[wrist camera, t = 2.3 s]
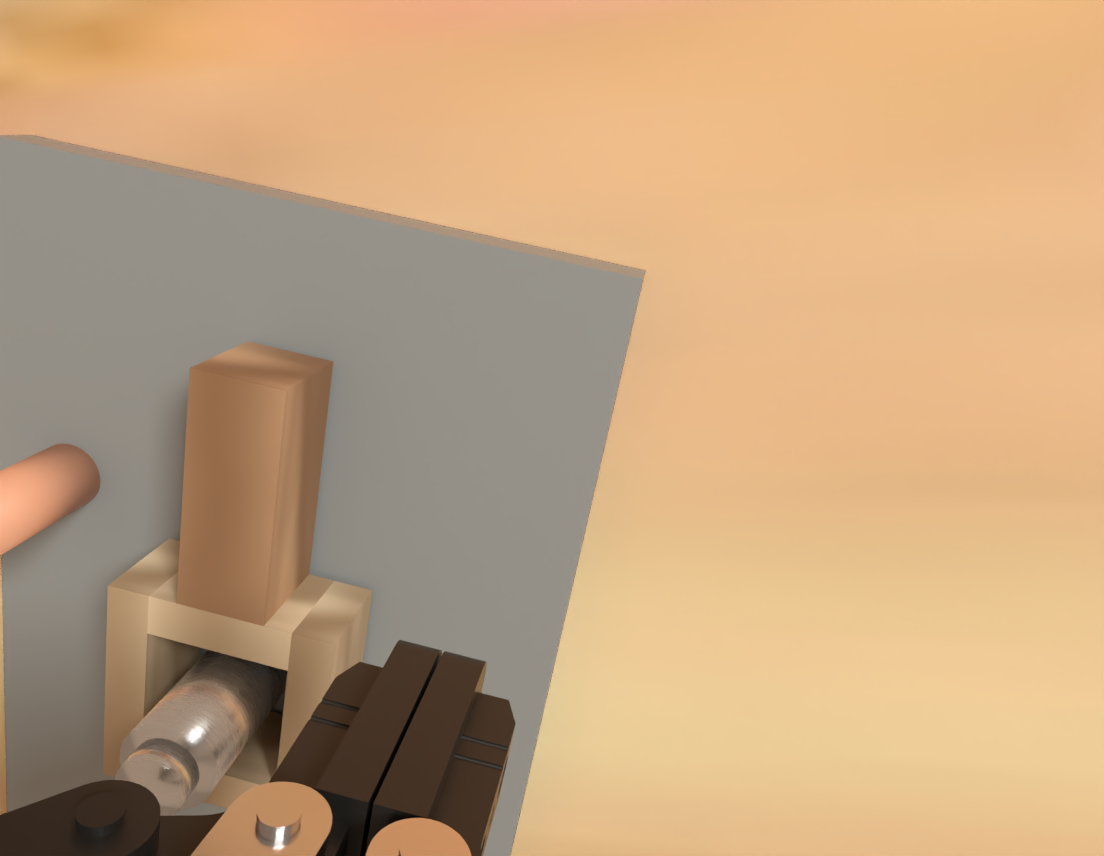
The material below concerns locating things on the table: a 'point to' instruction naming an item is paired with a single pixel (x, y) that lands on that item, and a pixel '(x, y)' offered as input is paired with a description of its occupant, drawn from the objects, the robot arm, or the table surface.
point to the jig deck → (351, 429)
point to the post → (199, 729)
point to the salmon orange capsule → (44, 491)
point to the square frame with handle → (239, 561)
